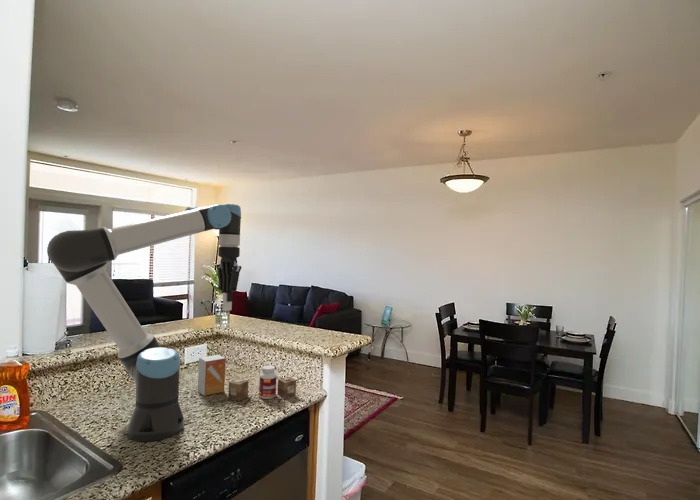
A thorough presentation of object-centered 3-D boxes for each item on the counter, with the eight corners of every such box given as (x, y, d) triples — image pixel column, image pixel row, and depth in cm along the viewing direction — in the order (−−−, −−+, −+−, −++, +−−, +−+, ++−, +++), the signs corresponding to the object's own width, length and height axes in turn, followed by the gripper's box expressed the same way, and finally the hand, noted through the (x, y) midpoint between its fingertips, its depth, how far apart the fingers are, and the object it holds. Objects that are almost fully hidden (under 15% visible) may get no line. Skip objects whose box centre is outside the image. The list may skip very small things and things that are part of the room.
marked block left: (238, 401, 143) (239, 384, 143) (227, 398, 145) (228, 381, 145) (248, 396, 147) (248, 379, 147) (237, 394, 149) (238, 377, 149)
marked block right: (284, 398, 146) (285, 382, 146) (277, 394, 150) (278, 378, 150) (296, 396, 149) (296, 379, 149) (288, 392, 153) (289, 376, 153)
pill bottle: (262, 400, 143) (263, 370, 143) (256, 395, 149) (257, 366, 149) (278, 397, 147) (279, 368, 147) (272, 392, 152) (273, 364, 152)
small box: (204, 396, 146) (205, 361, 146) (197, 391, 150) (198, 357, 150) (224, 391, 151) (226, 357, 151) (217, 387, 156) (218, 354, 156)
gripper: (248, 247, 144) (246, 311, 144) (228, 246, 152) (226, 307, 152) (230, 246, 138) (228, 313, 138) (210, 245, 146) (208, 309, 146)
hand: (227, 310), depth 145 cm, fingers closed
